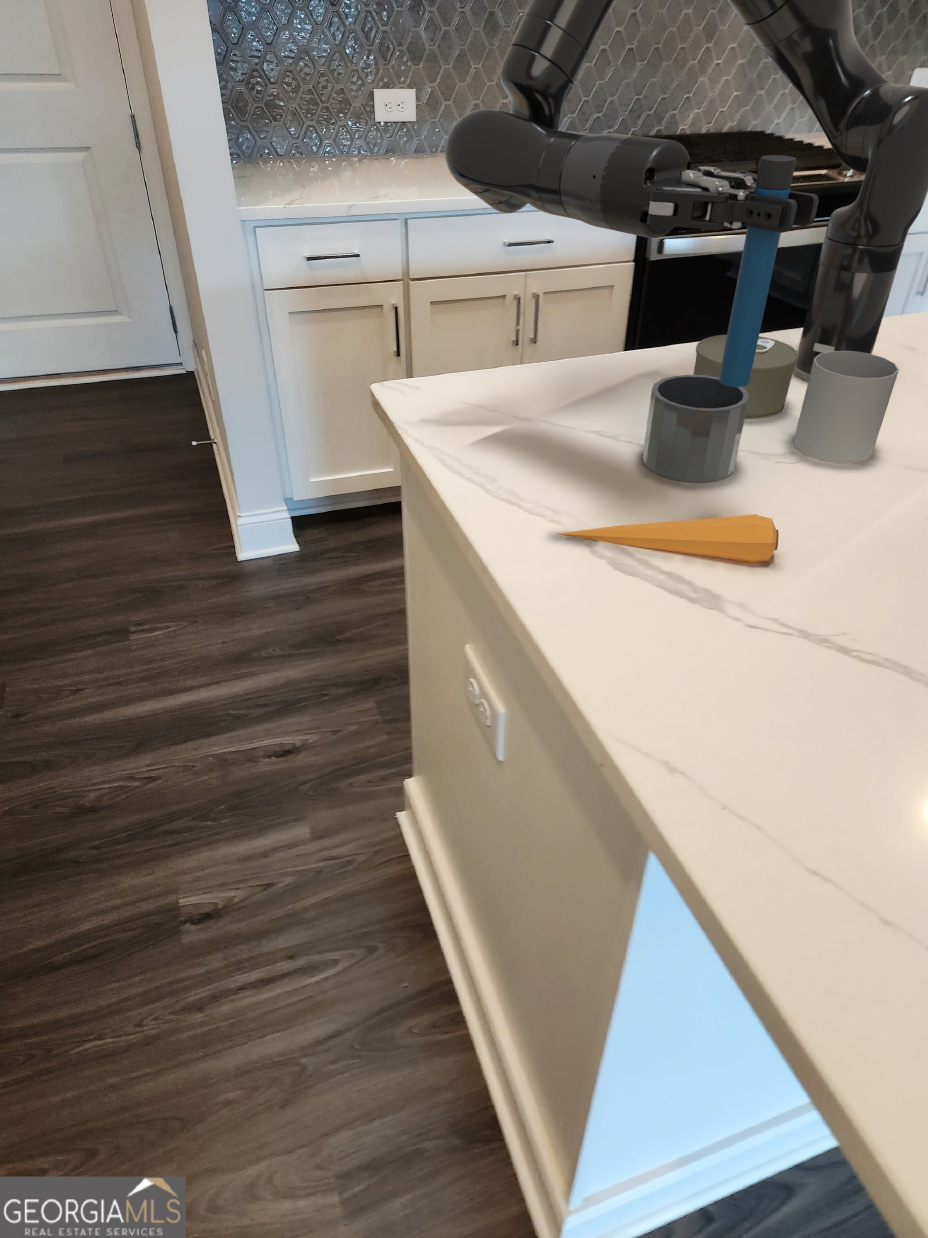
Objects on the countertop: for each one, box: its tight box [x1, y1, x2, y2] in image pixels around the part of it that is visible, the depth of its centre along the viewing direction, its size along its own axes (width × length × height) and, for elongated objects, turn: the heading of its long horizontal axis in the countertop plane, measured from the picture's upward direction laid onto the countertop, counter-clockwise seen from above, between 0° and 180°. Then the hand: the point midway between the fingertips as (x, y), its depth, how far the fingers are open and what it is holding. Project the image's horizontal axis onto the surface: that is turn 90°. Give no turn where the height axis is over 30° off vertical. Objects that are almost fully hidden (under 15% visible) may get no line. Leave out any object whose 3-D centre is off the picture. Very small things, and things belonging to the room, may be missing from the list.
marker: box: [719, 154, 797, 387], centre depth 68 cm, size 3×3×18 cm
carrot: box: [557, 514, 780, 563], centre depth 77 cm, size 20×4×4 cm, turn 77°
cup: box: [793, 351, 900, 465], centre depth 91 cm, size 8×8×10 cm
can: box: [692, 334, 798, 420], centre depth 103 cm, size 12×12×7 cm
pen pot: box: [642, 374, 749, 484], centre depth 88 cm, size 10×10×8 cm
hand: (802, 213), depth 63 cm, fingers closed on marker, 2 cm apart
